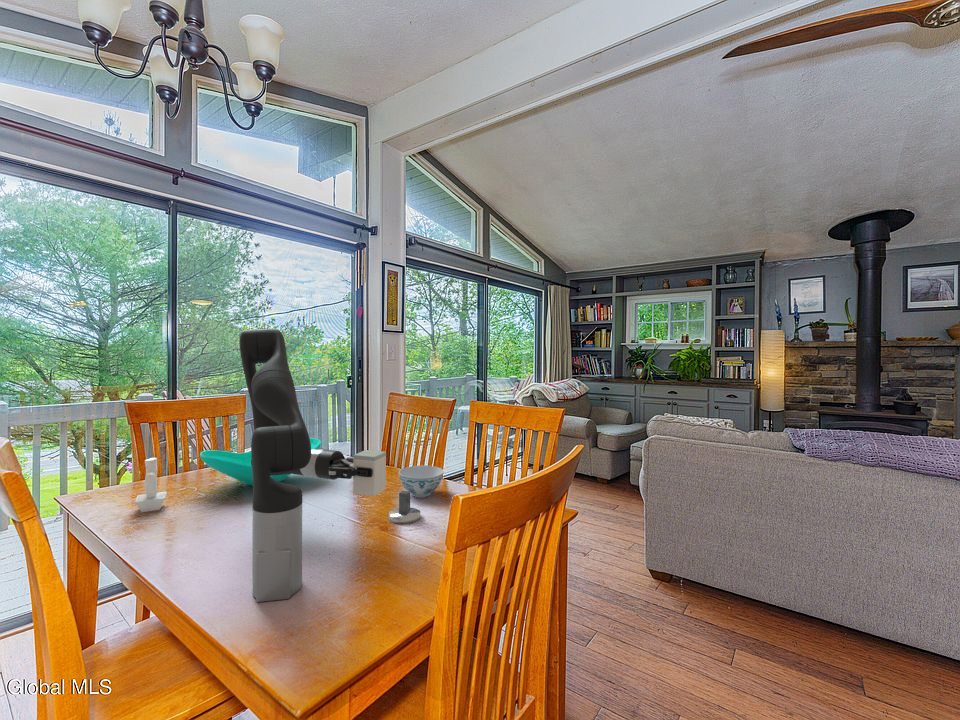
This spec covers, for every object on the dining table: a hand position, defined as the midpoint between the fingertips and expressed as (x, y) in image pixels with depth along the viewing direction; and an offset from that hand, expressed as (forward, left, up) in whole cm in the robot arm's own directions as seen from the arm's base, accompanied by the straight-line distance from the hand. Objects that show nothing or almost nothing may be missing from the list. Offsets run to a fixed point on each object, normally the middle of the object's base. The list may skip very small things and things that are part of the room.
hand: (378, 469), depth 116 cm
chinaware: (+32, -15, -18) cm, 40 cm away
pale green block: (+1, +2, -6) cm, 6 cm away
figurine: (+34, +65, -18) cm, 76 cm away
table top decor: (+54, +38, -18) cm, 69 cm away
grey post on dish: (+12, -8, -18) cm, 23 cm away
